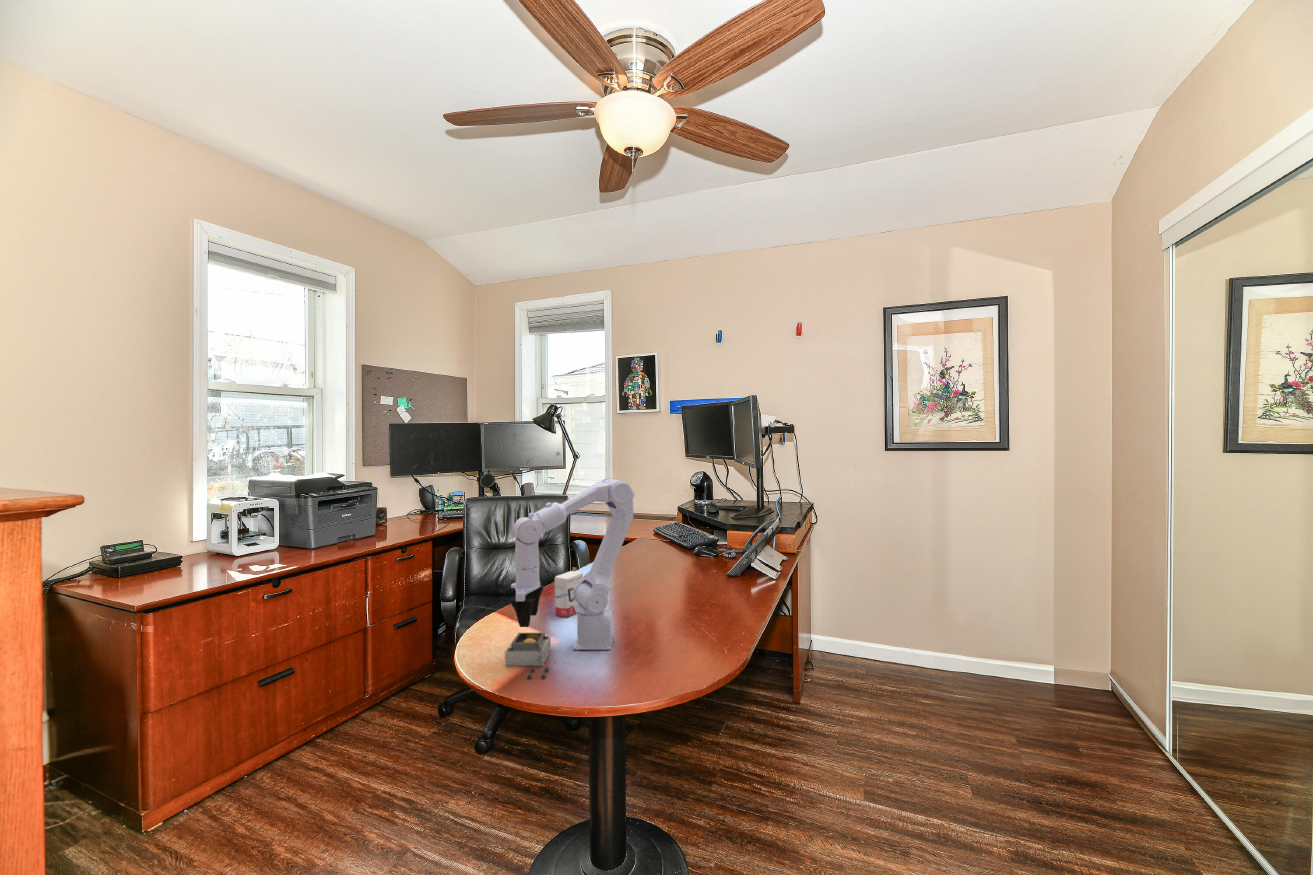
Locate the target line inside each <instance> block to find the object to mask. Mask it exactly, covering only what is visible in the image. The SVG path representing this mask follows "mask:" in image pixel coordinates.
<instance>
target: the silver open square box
mask: <svg viewBox="0 0 1313 875" xmlns="http://www.w3.org/2000/svg"><path fill="white" fill-rule="evenodd" d="M528 638H532V639H534V640H535V641H536V642H523V641H524V640H526V639H528ZM551 641H552V640H551V636H550V635H549V634H548V635H546V632H518V633H517V635H516V636H515V638H513V640H512V641H511V643H510V644H509V646H508V647H507V648H506V650H505V652H504V654H505V658H504V660H505V667H543V666H544V664H545V662H546V660H547V658H548V656H549V654H550V652H551V648H552V647H551V645H552V642H551Z"/></svg>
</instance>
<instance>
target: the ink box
mask: <svg viewBox="0 0 1313 875" xmlns="http://www.w3.org/2000/svg"><path fill="white" fill-rule="evenodd" d="M583 577H584V572H581V571H575V570H570V571H566V572H564V573H562V574H558V575H556V576H555V577H554V596H555V597H554V598H555V599H554V603H555V616H558V617H566V618H568V617H571V616H573V615H575V614H577V608H578V603H577V602H576V600H575V598H574V590H575V588H576V586H577V585H578V584H579V583H580V582H581V581H582V579H583Z"/></svg>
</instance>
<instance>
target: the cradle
mask: <svg viewBox="0 0 1313 875" xmlns="http://www.w3.org/2000/svg"><path fill="white" fill-rule="evenodd" d="M549 671H550V668H549V667H548V666H545V667H544V673H541V680H543V679H544V680H545V679H546V677H547V676H546V673H548V672H549ZM535 672H536V666H531V668H530V673H528V674H527V675H526V676H527V680H531V679H532V678H533V673H535Z"/></svg>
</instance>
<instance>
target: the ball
mask: <svg viewBox="0 0 1313 875" xmlns="http://www.w3.org/2000/svg"><path fill="white" fill-rule="evenodd" d="M523 642H536V641H535V640H534V639H532V638H528V639H526V640H524V641H523Z"/></svg>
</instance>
